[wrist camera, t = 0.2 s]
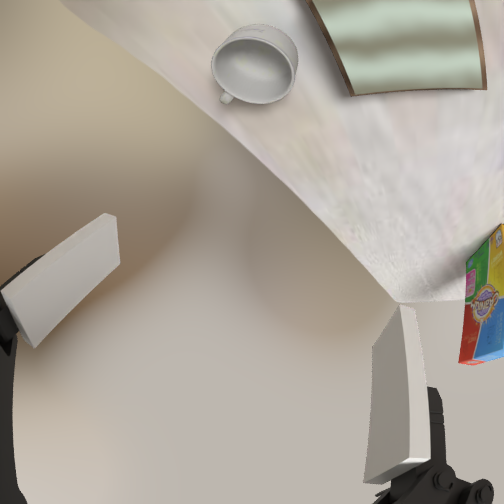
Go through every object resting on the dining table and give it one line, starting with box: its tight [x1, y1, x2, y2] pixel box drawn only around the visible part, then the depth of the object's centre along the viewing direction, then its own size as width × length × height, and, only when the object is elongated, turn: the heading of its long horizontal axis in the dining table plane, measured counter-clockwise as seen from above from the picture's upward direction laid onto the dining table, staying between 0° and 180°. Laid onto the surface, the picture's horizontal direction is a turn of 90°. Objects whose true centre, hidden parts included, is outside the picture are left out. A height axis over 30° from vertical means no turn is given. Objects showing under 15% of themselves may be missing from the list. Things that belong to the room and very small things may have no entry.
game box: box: [458, 224, 504, 365], centre depth 49 cm, size 21×6×27 cm, turn 10°
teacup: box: [211, 24, 298, 105], centre depth 35 cm, size 14×11×8 cm
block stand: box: [306, 0, 487, 97], centre depth 23 cm, size 18×20×6 cm
